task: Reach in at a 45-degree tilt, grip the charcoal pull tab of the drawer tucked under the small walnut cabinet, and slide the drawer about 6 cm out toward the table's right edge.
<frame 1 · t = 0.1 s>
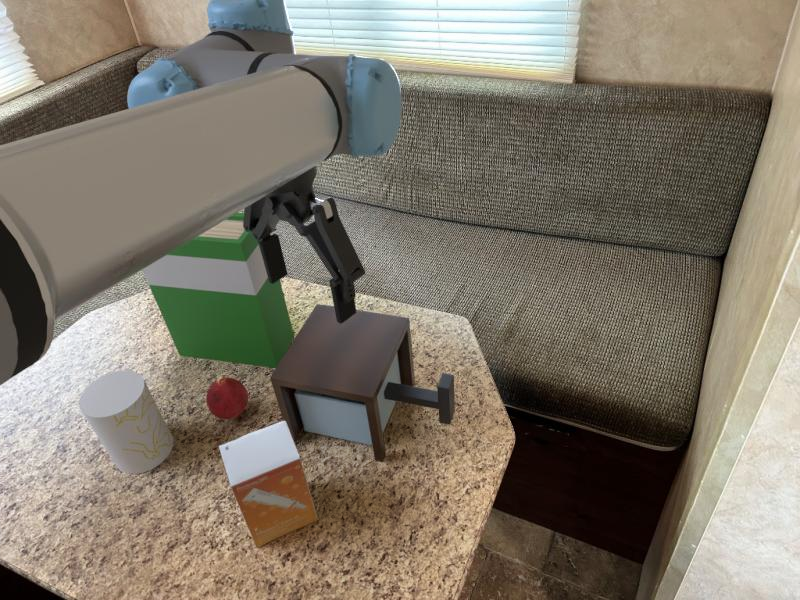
hand: (311, 297, 80), 19 cm above the table, tool pointing down, fingers open, 13 cm apart
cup: (144, 450, 86), on the table
small box: (281, 515, 77), on the table
green and white box: (237, 347, 101), on the table
cabinet: (354, 410, 89), on the table
drawer: (381, 392, 84), point 5 cm above the table, slide at 0.0 cm
onion: (234, 416, 90), on the table
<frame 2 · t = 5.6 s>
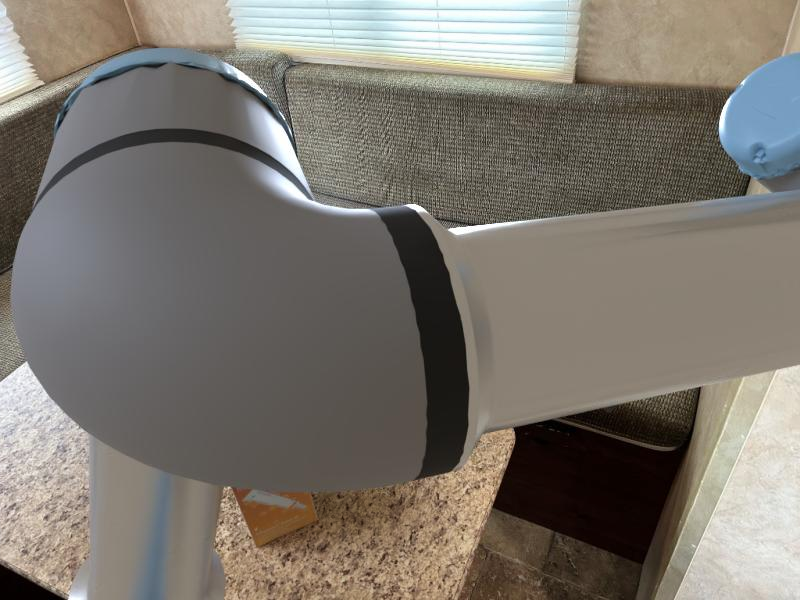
hand: (547, 358, 65), 20 cm above the table, tool tilted 45°, fingers open, 13 cm apart
nothing on the table moved.
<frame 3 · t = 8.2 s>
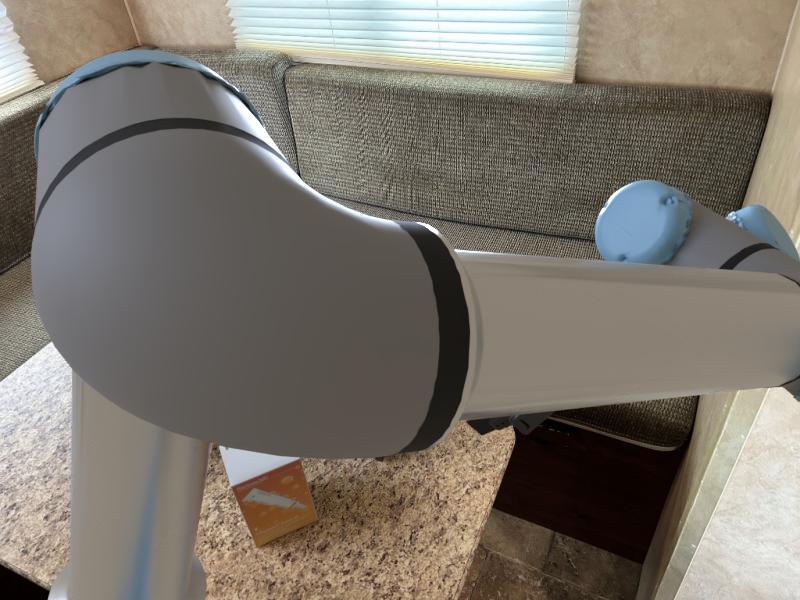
hand: (485, 385, 77), 10 cm above the table, tool tilted 45°, fingers open, 13 cm apart
nothing on the table moved.
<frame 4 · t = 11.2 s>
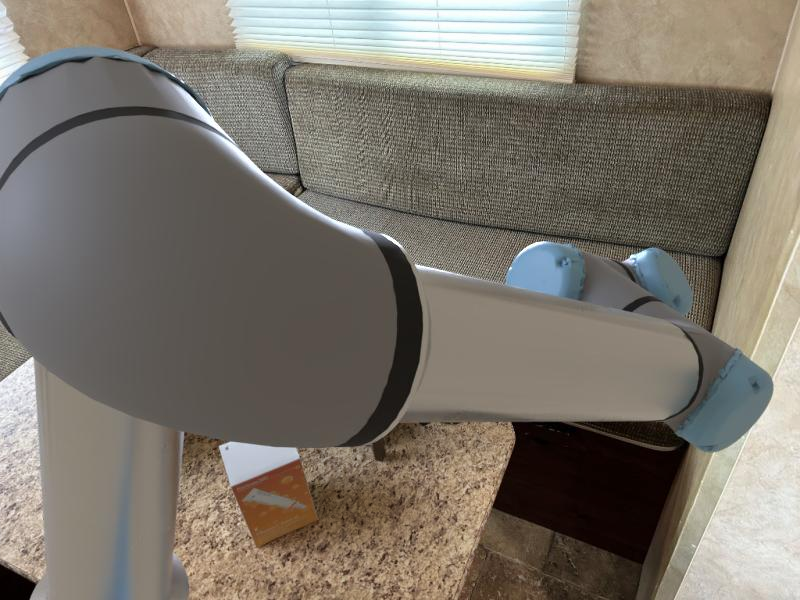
hand: (420, 409, 84), 3 cm above the table, tool tilted 45°, fingers closed on drawer, 3 cm apart
drawer: (381, 392, 84), point 5 cm above the table, slide at 0.0 cm, touching gripper
everything else where it was.
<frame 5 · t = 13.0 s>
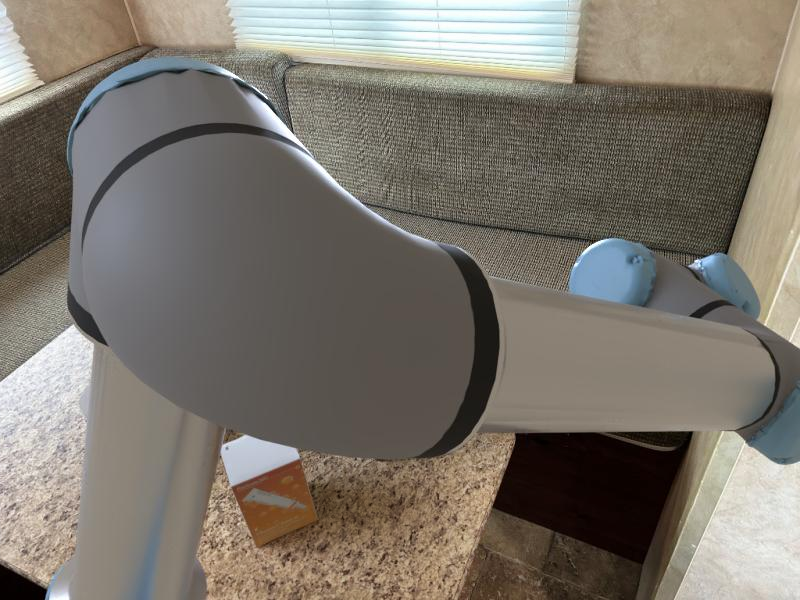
hand: (461, 417, 82), 3 cm above the table, tool tilted 45°, fingers closed on drawer, 3 cm apart
drawer: (421, 400, 82), point 5 cm above the table, slide at 5.9 cm, touching gripper
everything else where it was.
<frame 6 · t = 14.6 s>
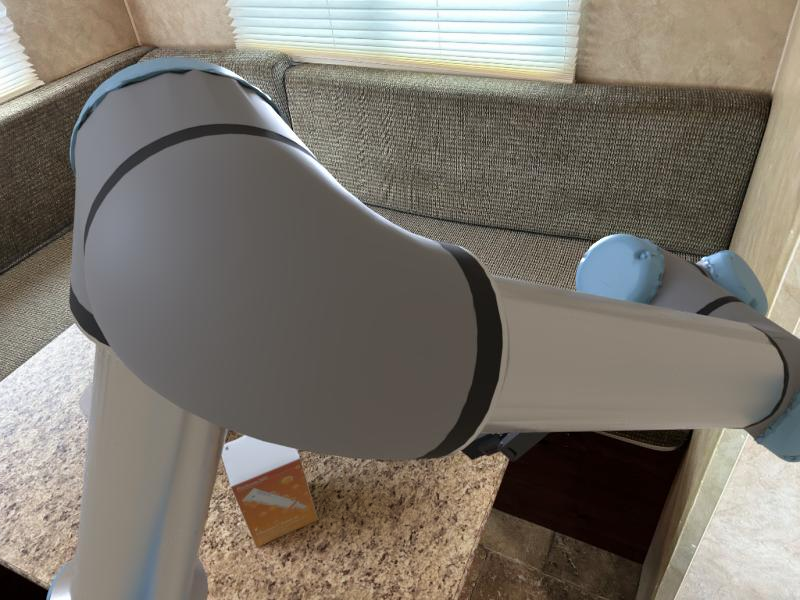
hand: (476, 410, 80), 5 cm above the table, tool tilted 45°, fingers open, 13 cm apart
drawer: (422, 400, 82), point 5 cm above the table, slide at 5.9 cm
everything else where it was.
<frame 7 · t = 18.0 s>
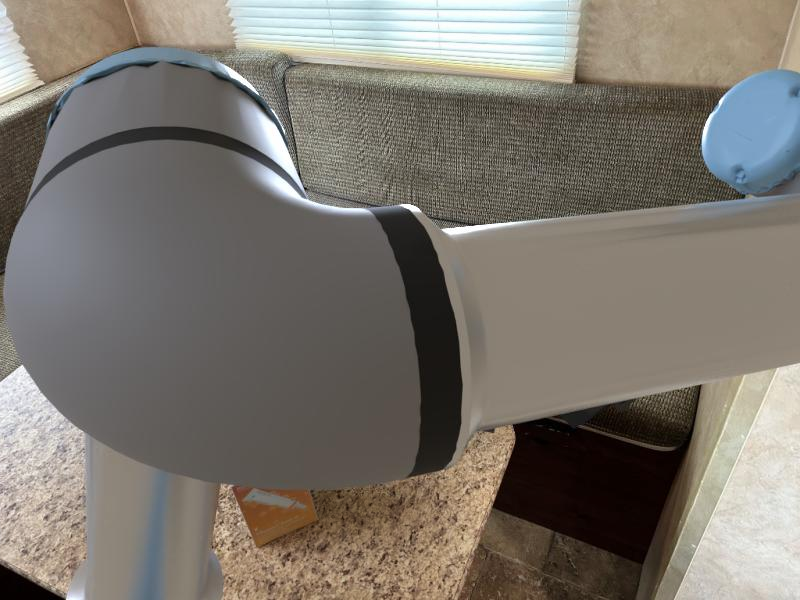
hand: (584, 380, 66), 18 cm above the table, tool tilted 35°, fingers open, 13 cm apart
nothing on the table moved.
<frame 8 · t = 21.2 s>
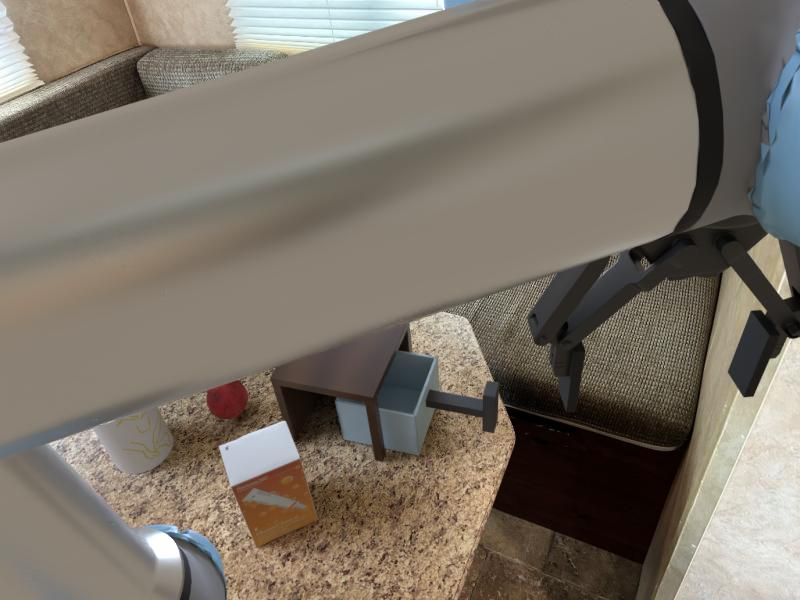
hand: (653, 391, 48), 31 cm above the table, tool pointing down, fingers open, 13 cm apart
nothing on the table moved.
at the end: drawer slide at 5.9 cm; the gripper is holding nothing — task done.
